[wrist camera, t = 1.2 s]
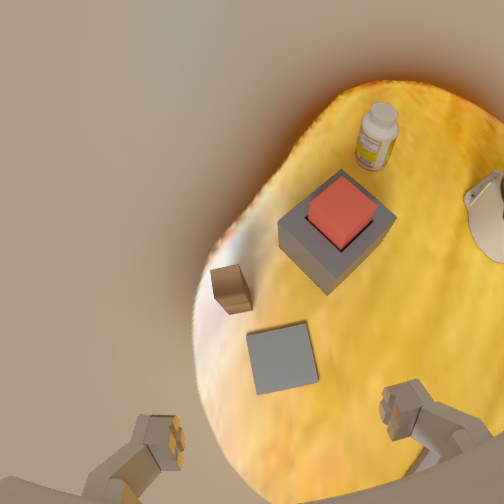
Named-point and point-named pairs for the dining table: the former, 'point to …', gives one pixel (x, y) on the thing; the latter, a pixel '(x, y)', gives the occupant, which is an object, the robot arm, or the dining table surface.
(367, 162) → the supplement bottle
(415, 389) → the robot arm
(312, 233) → the gray socket block
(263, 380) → the pad
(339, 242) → the button
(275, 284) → the dining table surface
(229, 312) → the brown wooden block
